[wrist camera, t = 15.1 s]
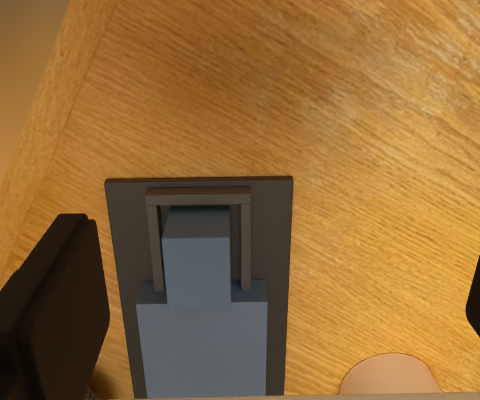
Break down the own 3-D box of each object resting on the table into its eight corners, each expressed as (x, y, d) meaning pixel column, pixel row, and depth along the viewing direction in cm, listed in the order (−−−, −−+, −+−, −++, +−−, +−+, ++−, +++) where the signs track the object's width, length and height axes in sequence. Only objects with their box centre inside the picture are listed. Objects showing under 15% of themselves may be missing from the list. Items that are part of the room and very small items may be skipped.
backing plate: (106, 178, 34) (92, 199, 31) (292, 175, 34) (299, 196, 31) (140, 423, 45) (132, 459, 41) (281, 420, 45) (286, 455, 42)
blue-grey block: (170, 206, 34) (161, 238, 30) (229, 205, 34) (229, 237, 30) (175, 273, 37) (167, 312, 32) (230, 272, 37) (231, 311, 32)
